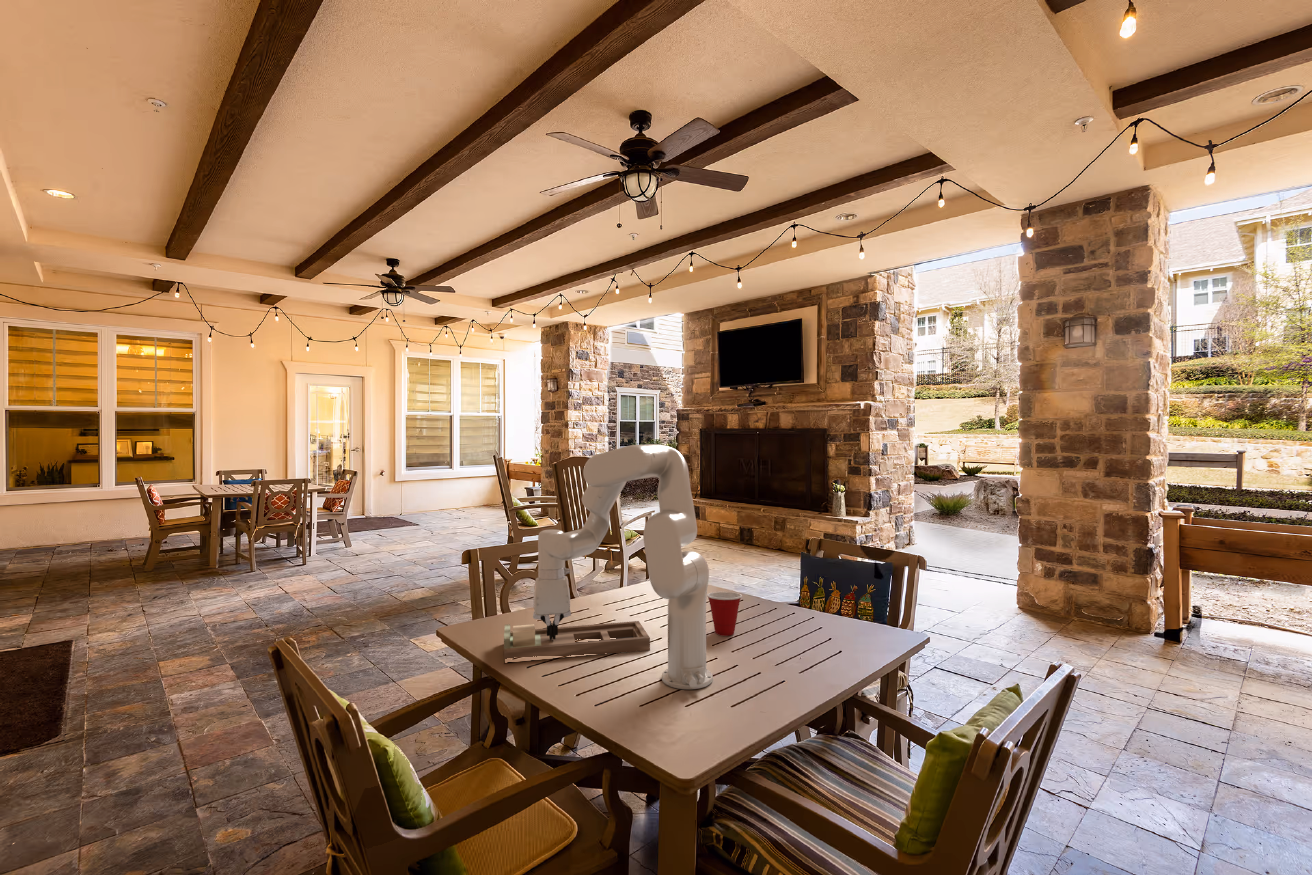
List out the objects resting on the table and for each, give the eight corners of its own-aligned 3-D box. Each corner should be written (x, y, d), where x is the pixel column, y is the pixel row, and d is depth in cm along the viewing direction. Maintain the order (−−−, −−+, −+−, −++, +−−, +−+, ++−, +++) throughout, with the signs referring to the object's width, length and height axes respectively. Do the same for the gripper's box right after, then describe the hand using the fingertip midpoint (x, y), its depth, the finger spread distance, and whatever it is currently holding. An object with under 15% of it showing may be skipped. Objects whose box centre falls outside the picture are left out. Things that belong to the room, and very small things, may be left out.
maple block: (535, 645, 165) (535, 630, 165) (513, 647, 163) (512, 632, 163) (534, 638, 170) (534, 624, 170) (513, 639, 169) (513, 625, 169)
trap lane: (650, 650, 167) (649, 628, 167) (503, 663, 158) (503, 641, 158) (638, 632, 183) (638, 612, 183) (505, 643, 173) (504, 623, 173)
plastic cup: (741, 627, 186) (741, 589, 186) (743, 639, 176) (743, 598, 176) (707, 626, 188) (706, 588, 188) (706, 638, 177) (706, 597, 177)
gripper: (576, 569, 174) (577, 631, 174) (524, 572, 170) (525, 636, 170) (579, 574, 167) (580, 639, 167) (525, 578, 163) (525, 644, 163)
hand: (552, 637), depth 169 cm, fingers closed
